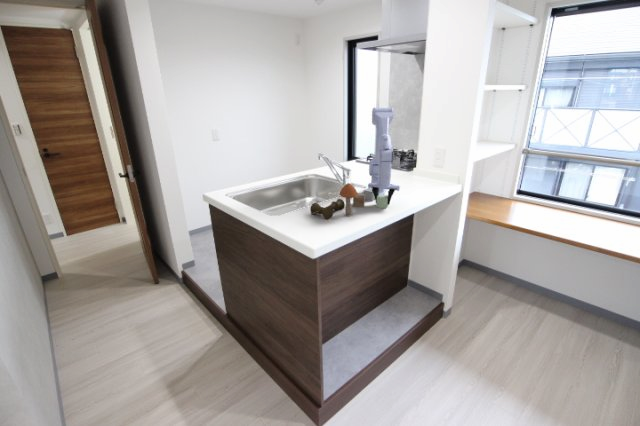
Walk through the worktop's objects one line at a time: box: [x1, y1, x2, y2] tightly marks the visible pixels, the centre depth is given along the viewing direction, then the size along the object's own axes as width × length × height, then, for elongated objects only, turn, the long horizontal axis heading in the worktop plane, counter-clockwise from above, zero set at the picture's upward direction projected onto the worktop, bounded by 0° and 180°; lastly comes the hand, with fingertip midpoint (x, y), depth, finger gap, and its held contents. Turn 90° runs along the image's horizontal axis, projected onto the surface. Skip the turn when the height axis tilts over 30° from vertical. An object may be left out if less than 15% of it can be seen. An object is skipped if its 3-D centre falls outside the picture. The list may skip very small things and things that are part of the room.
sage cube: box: [375, 194, 389, 209], centre depth 153 cm, size 5×5×5 cm
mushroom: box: [339, 183, 359, 217], centre depth 140 cm, size 8×8×15 cm
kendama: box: [309, 198, 346, 220], centre depth 144 cm, size 6×10×20 cm
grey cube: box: [363, 187, 376, 202], centre depth 162 cm, size 5×5×5 cm
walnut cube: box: [352, 193, 365, 208], centre depth 154 cm, size 5×5×5 cm
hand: (382, 203), depth 153 cm, fingers closed on sage cube, 5 cm apart
